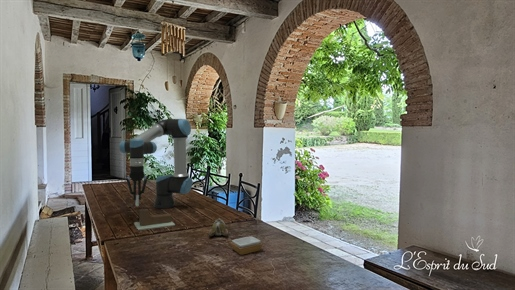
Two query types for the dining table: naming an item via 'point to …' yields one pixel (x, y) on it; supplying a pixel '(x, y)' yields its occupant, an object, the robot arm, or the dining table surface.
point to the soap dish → (246, 245)
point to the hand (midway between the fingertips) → (137, 205)
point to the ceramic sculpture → (218, 228)
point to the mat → (153, 225)
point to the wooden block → (152, 218)
